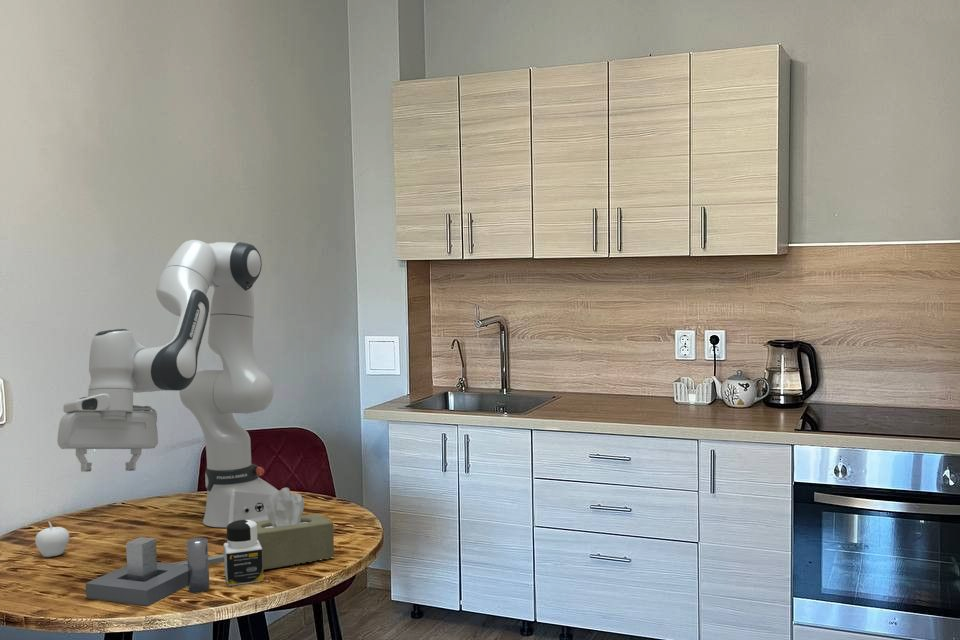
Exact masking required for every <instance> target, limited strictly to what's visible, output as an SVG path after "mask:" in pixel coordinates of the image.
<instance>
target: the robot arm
mask: <svg viewBox="0 0 960 640" xmlns="http://www.w3.org/2000/svg"><path fill="white" fill-rule="evenodd" d="M262 265H263V264H262V255H261V254H260V251H259V250H258V249H257V248H256V246H255V245H254V244H251V243H245V242H230V241H229V242H228V241H217V242H216V241H215V242H210V243H209V242H208V243H207V242H205V241H203V240H198V239H190V240H186V241H184V242H183V243H182V244H180V246H179V247H178V248H177V249H176V250H175V251H174V253H173V255H171V257H170V258H169V260H168V262H167V264H166V265H165V267H164V269H163V271H162V273H161V274H160V277H159V278H158V281H157V284H156V290H155V292H156V293H155V294H156V297H157V299H158V302H159V303H160V305H162V307H163V308H164V309H165V310H167V311H168V312H170V313H171V314H173V315H175V316H177V317H179V318H178V322H177V325H176V329H175V332H174V335H173V338H172V339H171V340H170V341H169V342H168V343H165V344H164V345H160V346H154V347H146V346H144V345H142V344H141V343H139V342H138V341H137V340H136V339H135V338H134V336H133V334H132V331H131V330H130V329H126V328H116V329H109V330H102V331H101V330H100V331H98V332H97V333H95V334H94V335H93V338H92V340H91V344H90V350H89V358H88V359H89V361H88V362H89V363H88V372H89V374H90V381H89V382H90V384H89V385H88V389H87V391H88V392H87V396H84V397H80V398H79V399H75V400H71V401H68V402H66V403H64V404H63V408H62V409H63V412H64V415H62V417H61V418H60V420H59V425H58V430H57V446H58V447H59V448H60V449H61V450H75V457H76V458H77V459H78V462H79V463H80V472H81V473H83V472H84V473H85V472H87V473H89V472H91V471H92V464H93V463H92V462H88V459H87V457H86V455H87V454H88V450H130V454H131V455H132V456H131V457H130V460H129V461H127V462H125V469H124V470H125V471H126V472H130V471H131V472H132V471H133V472H134V471H136V470H137V462H138V460H139V459H140V457H141V456H142V450H150V449H151V450H152V449H155V448H156V447H157V446H158V444H159V435H158V434H159V433H158V425H157V423H158V413H157V411H156V409H154V408H152V406H150V405H144V406H143V405H134V393H138V394H139V393H148V392H149V393H152V392H160V391H179V399H180V401H181V403H182V405H183V406H184V407H185V408H186V409H187V410H189V411H190V412H191V413H192V415H194V417H195V419H196V421H197V422H198V424H199V426H200V429H201V431H202V434H203V437H204V438H203V439H204V442H205V444H204V445H205V451H206V452H205V454H206V467H205V473H204V476H205V477H204V478H205V480H204V481H205V488H206V490H207V491H206V504H205V511H204V515H203V519H202V524H203V525H205V526H208V527H213V528H227V526H228V524H230V523H232V522H234V521H238V520H251V521H254V522H259V521H266V520H269V518H268V515H267V513H266V510H265V507H264V505H263V503H262V502H263V501H265V500H266V499H267V498H268V497H269V496H271V495H275V494H277V493H278V492H279V491H280V490H278V489H277V488H276V487H275V486H273V485H272V484H270V483H269V482H267V481H265V480H264V479H262V478H260V476H263V475H264V474H265V469H264V468H263V467H262V466H258V465H256V464H254V463H252V451H251V450H252V448H251V447H252V446H251V437H250V434H249V432H248V431H247V430H246V429H245V428H244V427H242V426H240V425H239V424H238V422H237V421H236V419H235V417H234V414H244V415H247V414H251V413H257V412H261V411H264V410H266V409H267V408H268V407H269V406H270V405H271V402H272V400H273V397H274V386H273V383H272V380H271V379H270V378H269V376H268V375H267V374H266V373H265V372H264V371H263V370H262V369H261V367H260V365H259V364H258V362H257V359H256V356H255V352H254V346H253V345H254V342H253V339H254V319H255V317H254V316H255V297H254V296H255V295H254V288H253V286H254V284H255V283H256V282H257V280H258V278H259V277H260V275H261V271H262ZM210 287H213V289H214V291H213V294H212V298H211V302H210V300H209V298H208V297H207V293H208V290H209V288H210ZM210 303H211V305H210ZM208 317H209V321H208ZM207 321H208V322H209V326H208V336H207V343H208V346H209V348H210V350H211V351H213V352H214V353H215V354H217V355H218V356H219V357H220V359H221V362H222V367H223V368H222V369H203V370H199V371H197V369H198V368H197V367H198V357H199V352H200V348H201V345H202V340H203V336H204V333H205V329H206V325H207Z"/></svg>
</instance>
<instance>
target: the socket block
mask: <svg viewBox="0 0 960 640" xmlns="http://www.w3.org/2000/svg"><path fill="white" fill-rule="evenodd" d="M170 563H171V562H161V561H159V562H158V561H157V575H158V576H156V577H154V578H152V579H150V580H147V581H145V582H141V581H132V580H128V574H127V565H125V566H122V567H119V568H118V569H115V570H113V571H111V572H108V573H106V574H103V575H102V576H99V577H97V578H94V579H93V580H89V581H88V582H86V583H85V599H89V600H90V599H91V600H97V601H99V600H100V601H104V602H106V601H107V602H114V603H121V604H130V605H135V606H136V605H137V606H146V607H149V606H150V605H152V604H154V603H156V602H159V601H160V600H162V599H164V598H166V597H169V596H171V595H172V594H174V593H176V592H179V591H180V590H182V589H185V588H186V587H189V584H188V565H179V564H170Z"/></svg>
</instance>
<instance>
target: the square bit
mask: <svg viewBox="0 0 960 640" xmlns="http://www.w3.org/2000/svg"><path fill="white" fill-rule="evenodd" d="M125 551H126V553H125V554H126V566H127V574H128V580H132V581H141V582H145V581H147V580H150V579H152V578H154V577H156V576H158V575H157V562H158V559H157V538H155V537H154V538H152V537H143V536H142V537H137V538H134V539H132V540H129V541H128V542H126V543H125Z"/></svg>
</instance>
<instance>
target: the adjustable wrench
mask: <svg viewBox="0 0 960 640" xmlns="http://www.w3.org/2000/svg"><path fill="white" fill-rule="evenodd" d="M221 562H222V563H224V553H223V554H218V555H217V554H216V555H211V556H208V563H209V564H211V565H216V564H215V563H217V564H221ZM169 563H170V564H179V565H188V562H187V560H182V561H177V562H169Z"/></svg>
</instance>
